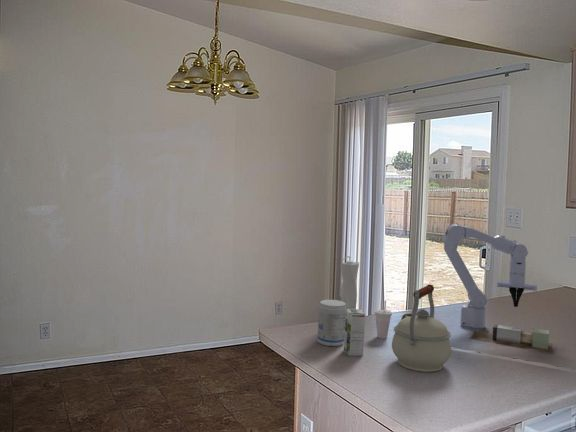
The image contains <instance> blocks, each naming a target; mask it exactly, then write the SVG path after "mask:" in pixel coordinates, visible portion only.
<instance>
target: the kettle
mask: <svg viewBox="0 0 576 432" xmlns="http://www.w3.org/2000/svg"><path fill="white" fill-rule="evenodd" d="M434 291H435V287H434V285H432V284H427V285H426V286H423V287H421V288H419V289H418V290H415V291H414V292H413V297H414V299H413V300H414V301H413V302H414V303H413V306H412V311H411V313H412V314H411V316H409V317H406V318H403V319H402V318H401V319H402V320H401V319H400V320H399V321H398V323H397V324H396V325H395V326H394V327H393V331H394V334H393V337H392V342H391V350H392V352H393V354H394V355H395V357H396V358H397V363H398V365H400V366H401V367H403V368H405V369H407V370H411V371H415V372H422V373H433V372H435V373H436V372H438V371H440V370H442V369H443V368H444V364H446V362H447V361H449V359H450V358H451V355H452V345H451V339H450V338H451V336H452V333H451V332H450V331H449V330H448V328H447V326H446V325H445V324H444V323H443V322H442V321H440V320H438V319H437V318H435V303H434V298H433V292H434ZM426 296H427V297H428V303H429V312H428V311H427V310H425V308H422V309H419V306H420V305H419V304H420V299H422V298H424V297H426ZM418 309H419V310H418ZM416 314H417V315H418V316H416ZM428 316H430V317H428ZM434 318H435V319H434Z"/></svg>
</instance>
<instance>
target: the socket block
mask: <svg viewBox="0 0 576 432" xmlns="http://www.w3.org/2000/svg"><path fill="white" fill-rule="evenodd" d="M532 333H533V340H532V347H537V348H542V349H548V343H549V338H550V330H549V329H548V330H547V329H541V328H535V327H534V328H533V330H532Z"/></svg>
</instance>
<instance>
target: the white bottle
mask: <svg viewBox="0 0 576 432" xmlns="http://www.w3.org/2000/svg"><path fill="white" fill-rule="evenodd" d="M347 258H348V259H349V260H346V259H347ZM351 258H352V257H351V256H345V257H344V258H342V260H341V262H340V267H341V268H340V271H341V279H342V282H341V288H340V296H339V301H342V302H345V303H346V309H357V302H358V301H357V300H358V299H357V298H358V291H357V282H356V281H357V276H358V273H359V268H360V262H359V261H353V260H351ZM344 260H346V262H344ZM345 318H346V317H345Z"/></svg>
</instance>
